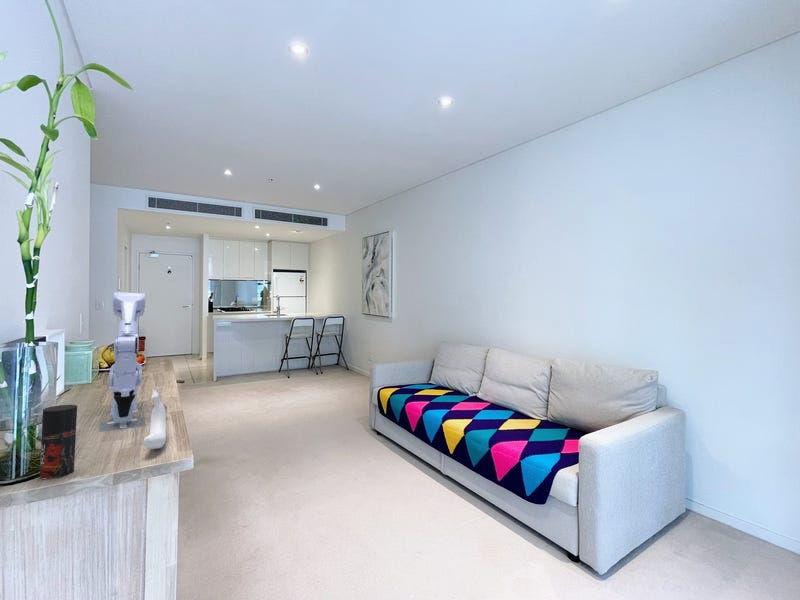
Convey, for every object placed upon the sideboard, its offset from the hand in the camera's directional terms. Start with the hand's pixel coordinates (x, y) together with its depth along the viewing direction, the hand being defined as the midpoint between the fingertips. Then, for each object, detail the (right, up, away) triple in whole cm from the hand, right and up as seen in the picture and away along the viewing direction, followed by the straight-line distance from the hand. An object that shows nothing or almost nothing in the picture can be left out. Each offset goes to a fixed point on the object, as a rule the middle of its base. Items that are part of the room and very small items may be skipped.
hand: (123, 414), depth 125 cm
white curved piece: (+22, -4, -19) cm, 29 cm away
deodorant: (+11, -3, -37) cm, 39 cm away
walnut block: (+7, -1, +5) cm, 8 cm away
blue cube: (0, -2, 0) cm, 2 cm away
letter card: (0, -3, 0) cm, 3 cm away
